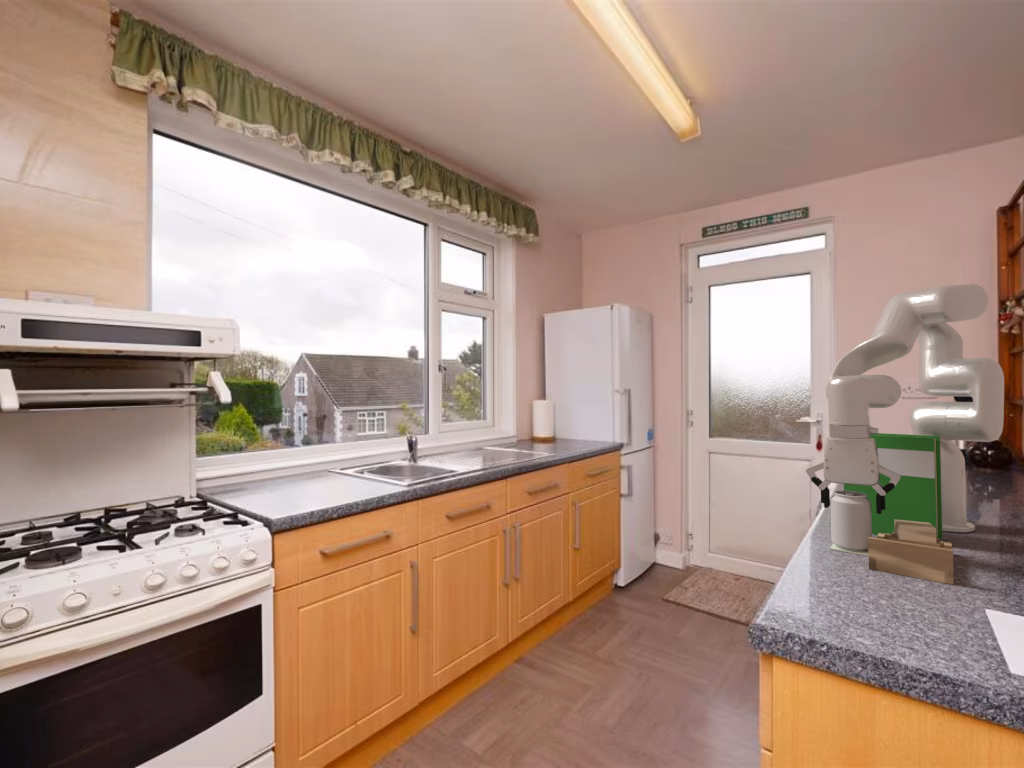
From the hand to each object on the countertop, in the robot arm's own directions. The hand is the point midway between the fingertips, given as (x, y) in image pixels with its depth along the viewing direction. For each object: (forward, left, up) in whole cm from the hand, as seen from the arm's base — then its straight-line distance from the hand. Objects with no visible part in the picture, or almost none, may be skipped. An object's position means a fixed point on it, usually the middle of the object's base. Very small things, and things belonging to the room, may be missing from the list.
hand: (852, 509), depth 110 cm
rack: (+3, +10, -9) cm, 14 cm away
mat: (+1, 0, -9) cm, 9 cm away
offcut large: (-2, +11, -9) cm, 14 cm away
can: (+1, 0, -8) cm, 8 cm away
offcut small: (-2, +11, -5) cm, 12 cm away
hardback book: (-18, +6, -9) cm, 21 cm away
